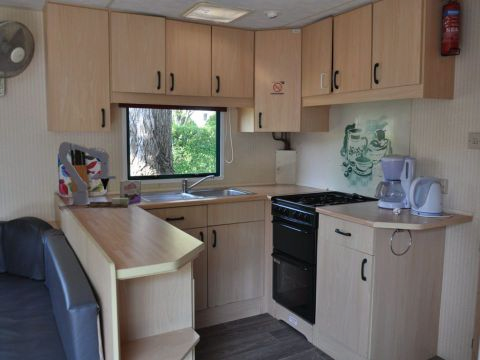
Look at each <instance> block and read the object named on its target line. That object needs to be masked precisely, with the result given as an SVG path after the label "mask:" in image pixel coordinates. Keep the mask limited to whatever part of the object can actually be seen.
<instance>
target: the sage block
mask: <svg viewBox="0 0 480 360" xmlns="http://www.w3.org/2000/svg"><path fill="white" fill-rule="evenodd" d="M119 198H120V197H119ZM120 204H128V198H120Z"/></svg>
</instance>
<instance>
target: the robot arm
mask: <svg viewBox="0 0 480 360" xmlns="http://www.w3.org/2000/svg"><path fill="white" fill-rule="evenodd" d="M70 150H71V151H73V150H74V151H75V150H76V151H80V152H83V153H87V155H88V156H89V157H92V158H96V159H98V160H99V159H100V163H99V165H100V166H99V168H100V173H99V174H100V175H93V180H100V182H101V184H102V186H103V187H102V188H103V190H104V191H106V190H108V189H107V187H108V184H109V182H110V180H116V179H117V176H116V175H110V160H109V159H110V155H109V153H108V152H106V151H104V150H102V149H97V148H96V147H91V148H89V147H87V146H86V147H85V146H83V145H80V144H78V143H74V142H69V141H63V142H61V143H60V145H59V147H58V160H59V161H60V162H61V164H62V165H63V167H64V168H65V170H66V171H67V172H68V174H69V176H70V177H71V179H72V180H73V182H74V183H75V185H76V189H77V190H76V191H74V192H73V193H72V204H74V205H77V204H78V205H86V204H89V191H88V183H87V182H86V181H84V180H83V178H81V176H80V175H79V173H78V171H77V170H76V169H75V167H74V165H73V164H72V163H71V161H70V160H69V158H68V155H69V152H70Z"/></svg>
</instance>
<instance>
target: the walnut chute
mask: <svg viewBox="0 0 480 360" xmlns="http://www.w3.org/2000/svg"><path fill="white" fill-rule="evenodd" d="M129 206H130V202H128V204H112V201H89V203H87V205H86V207H87V208H129Z"/></svg>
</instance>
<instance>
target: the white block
mask: <svg viewBox="0 0 480 360" xmlns="http://www.w3.org/2000/svg"><path fill="white" fill-rule="evenodd" d="M111 202H112V204H120V197H112V198H111Z"/></svg>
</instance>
